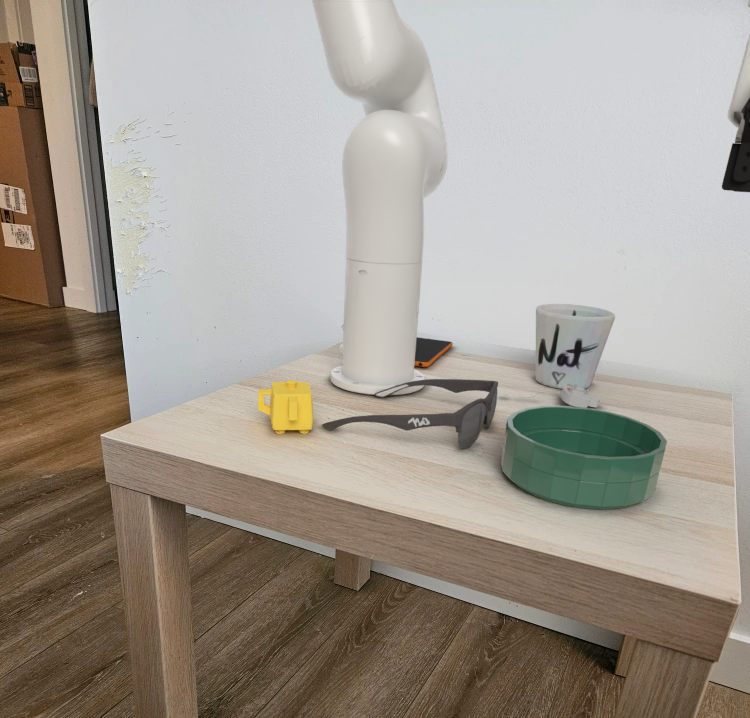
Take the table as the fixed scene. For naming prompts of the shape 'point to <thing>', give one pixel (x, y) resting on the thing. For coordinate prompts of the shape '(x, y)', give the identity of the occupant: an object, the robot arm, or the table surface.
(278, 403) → the teapot
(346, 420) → the sunglasses
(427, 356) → the smartphone
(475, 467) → the table surface
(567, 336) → the mug
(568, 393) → the game controller
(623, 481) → the bowl
